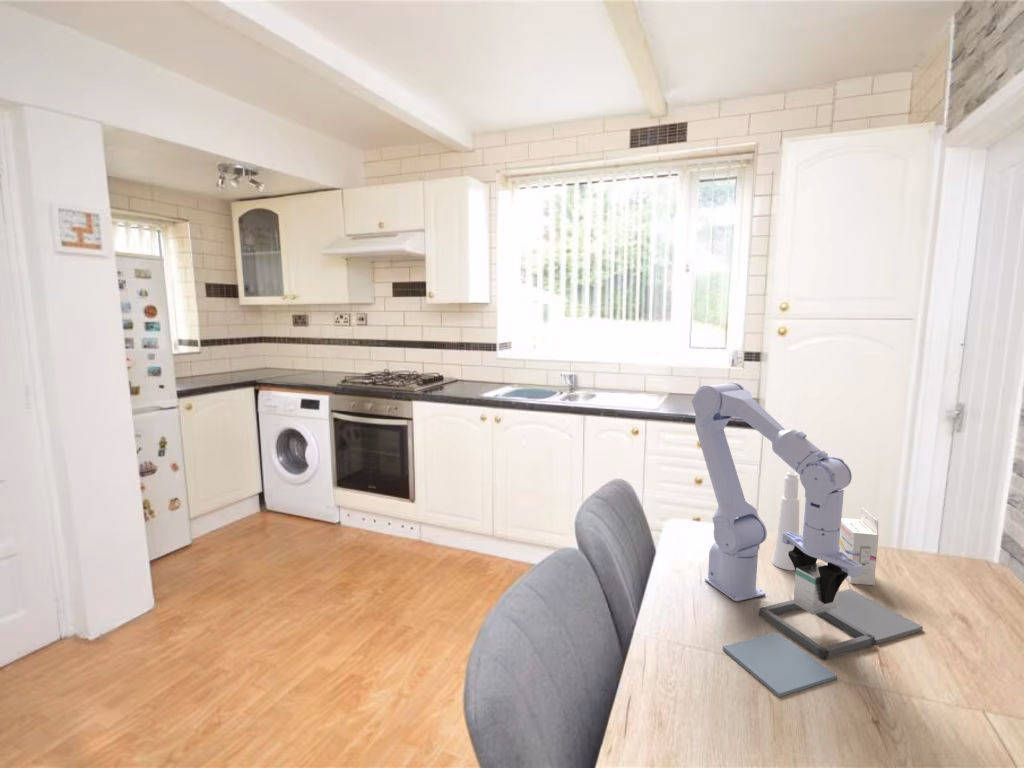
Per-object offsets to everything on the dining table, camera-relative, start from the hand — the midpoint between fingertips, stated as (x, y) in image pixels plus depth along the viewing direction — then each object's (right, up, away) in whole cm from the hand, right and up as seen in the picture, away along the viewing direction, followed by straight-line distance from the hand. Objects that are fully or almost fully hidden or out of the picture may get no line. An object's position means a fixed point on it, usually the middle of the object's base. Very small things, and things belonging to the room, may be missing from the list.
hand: (816, 595), depth 94 cm
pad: (-12, -8, -8) cm, 16 cm away
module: (0, -2, 0) cm, 2 cm away
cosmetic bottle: (+8, -4, +26) cm, 27 cm away
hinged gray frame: (+6, -6, +3) cm, 9 cm away
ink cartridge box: (+21, -4, +21) cm, 29 cm away
